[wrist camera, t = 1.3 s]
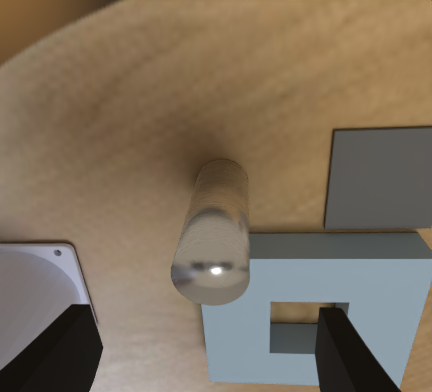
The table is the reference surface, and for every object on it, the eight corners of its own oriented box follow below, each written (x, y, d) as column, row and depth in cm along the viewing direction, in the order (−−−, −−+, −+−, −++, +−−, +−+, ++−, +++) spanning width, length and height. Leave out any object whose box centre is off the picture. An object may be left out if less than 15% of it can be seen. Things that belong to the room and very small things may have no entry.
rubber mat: (323, 226, 21) (324, 229, 21) (333, 129, 18) (335, 131, 18) (428, 225, 20) (430, 228, 20) (455, 125, 18) (458, 127, 17)
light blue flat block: (212, 351, 27) (209, 381, 25) (201, 234, 22) (196, 258, 20) (386, 355, 26) (399, 387, 24) (417, 232, 21) (438, 259, 19)
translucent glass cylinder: (198, 206, 21) (175, 305, 14) (194, 160, 20) (166, 244, 13) (248, 205, 21) (250, 306, 14) (247, 158, 19) (249, 244, 12)
